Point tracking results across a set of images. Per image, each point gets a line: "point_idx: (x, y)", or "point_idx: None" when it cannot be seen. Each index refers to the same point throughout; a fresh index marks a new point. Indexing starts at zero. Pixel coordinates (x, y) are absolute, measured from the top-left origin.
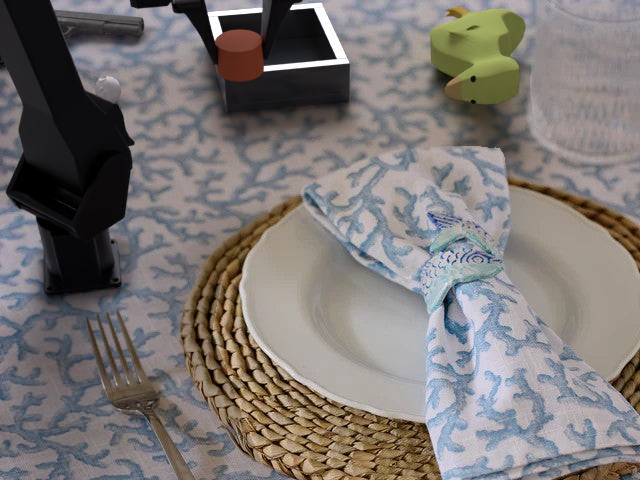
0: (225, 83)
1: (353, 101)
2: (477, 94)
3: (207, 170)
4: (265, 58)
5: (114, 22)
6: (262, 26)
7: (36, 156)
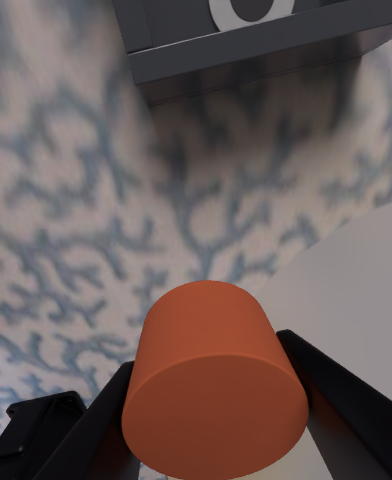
0: (140, 91)
1: (369, 56)
2: None
3: (143, 266)
4: None
5: None
6: (342, 438)
7: None
